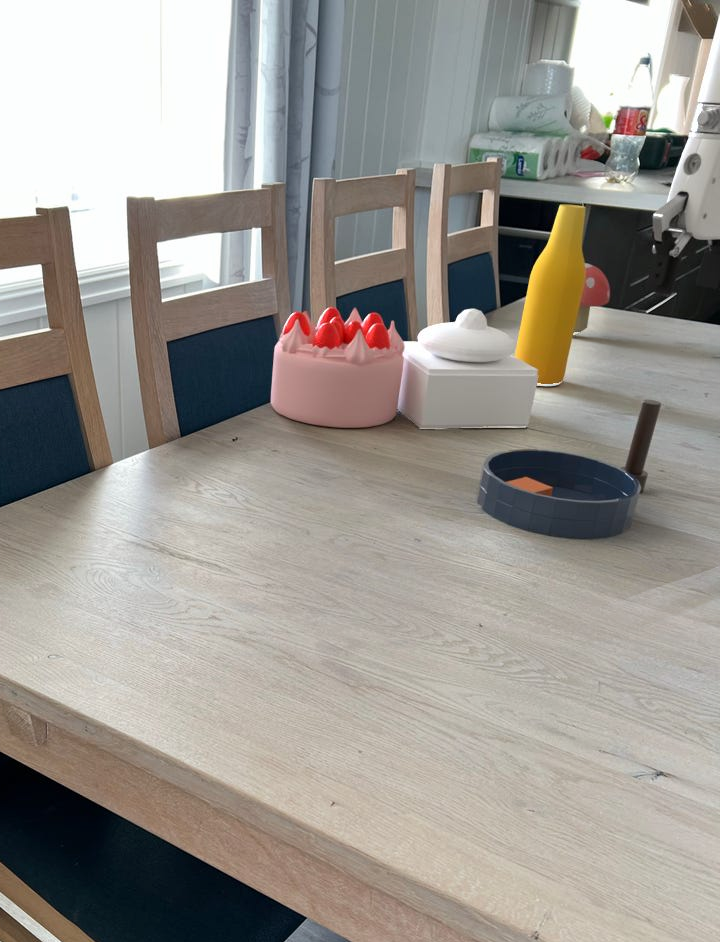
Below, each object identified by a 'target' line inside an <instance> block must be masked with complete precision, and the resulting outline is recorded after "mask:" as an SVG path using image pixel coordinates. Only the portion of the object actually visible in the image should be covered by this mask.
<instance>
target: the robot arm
mask: <svg viewBox="0 0 720 942" xmlns="http://www.w3.org/2000/svg"><path fill="white" fill-rule="evenodd" d="M687 137H688V139H687V142H686V143H685V146H684V149H683V151H682V153H681V157H680V158H679V161H678V165H677V167H676V171H675V173H674V176H673V180H672V182H671V186H670V189H669V193H668V197H667V200H666V203H665V204H664V205H663V206H661V207H660V208H658V209H657V210H655V212H654V213H653V215H652V233H651V241H652V243H653V245H652V248H651V253H652V254H653V257H652V261H651V265H650V269H649V272H648V277H647V279H646V280H647V282H646V285H645V289H646V291H649V292H653V293H658V294H661V295H671V294H673V292H674V289H675V285H676V282H677V277H678V274H679V270H680V267H681V262H682V259H683V257H681V256H679V255H680V253H681V252H682V250H683V249H684V248H685V246H686V245H687V243H688V242H689V241H690V240H691V238H692V237H693V238H694V239H696V240H701V241H705V240H706V241H707V245H708V250H704V251H703V255H702V259H701V262H700V266H699V270H698V272H697V277H696V280H695V286H696V287H699V288H703V289H708V290H714V291H720V14H718V18H717V23H716V27H715V30H714V34H713V39H712V43H711V46H710V50H709V54H708V58H707V62H706V66H705V69H704V74H703V78H702V82H701V85H700V89H699V93H698V97H697V101H696V105H695V108H694V113H693V116H692V121H691V125H690V128H689V132H688V136H687ZM674 238H676V240H675V239H674Z"/></svg>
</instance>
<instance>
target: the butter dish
mask: <svg viewBox="0 0 720 942" xmlns="http://www.w3.org/2000/svg"><path fill="white" fill-rule="evenodd" d="M456 316H457V317H456V318H455V321H453V322H452V321H451V322H450V321H449V322H442V323H436V324H433V325H429V326H427V327H425V328H423V329H422V330H421V331H420V332H419V333H418V335H417V340H416V341H415V340H414V341H409V340H407V341H405V340H403V343H404V346H405V349H404V352H403V356H404V364H403V371H402V378H401V386H400V393H399V400H398V407H397V409H398V410H399V411H400V412H401V413H403V414H404V415H405V416H406V417H407V418H409V419H410V420H411V421H412V422H413V423H415V424H416V425H417V426H418V427H419V428H461V427H483V426H487V427H488V426H527V427H528V425H530V419H531V415H532V410H533V404H534V400H535V395H536V391H537V387H536V386H537V381H538V377H539V376H538V375H537V373H538V369H536V368H534V367H532V366H530V365H529V364H527V363H525V362H523V361H521V360H520V359H518V358H516V357H514V356H515V355H513V353H515V351H516V346H517V342H515V340H514V339H513V338H512V337H511V336H510V335H509V334H508V333H506V332H504V331H502V330H500V329H498V328H495V327H491V326H488V321H487V318H486V316H485V315H484V313H483V311H482V310H479V309H477V308H467V309H464V310H462V311H461V312H460V313H459V314H458V315H456ZM398 410H397V411H398ZM399 411H398V412H399ZM400 412H399V413H400ZM401 413H400V414H401ZM403 414H402V415H403ZM404 415H403V416H404ZM405 416H404V417H405ZM406 417H405V418H406ZM407 418H406V419H407ZM410 420H409V421H410ZM411 421H410V422H411ZM412 422H411V423H412ZM413 423H412V424H413ZM418 427H417V428H418ZM419 428H418V429H419Z"/></svg>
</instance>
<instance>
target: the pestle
mask: <svg viewBox="0 0 720 942" xmlns="http://www.w3.org/2000/svg"><path fill="white" fill-rule="evenodd" d="M661 407H662V402H660V401H659V400H654V399H643V400H642V402H641V406H640V409H639V414H638V417H637V421H636V425H635V429H634V432H633V435H632V439H631V442H630V443H631V444H630V447H629V451H628V455H627V457H626V458H627V459H626V462H625V466H621V467H620V468H621V469H623V470H625V471H627V472H628V473H630V474H631V475H632V476H634V477H635V478H636V479H637V480H638V481H639V483H640V485H641V490H640V494H639V495H641V494H643V493H644V490H645V486H646V482H647V480H648V476H649V473H648V471H646V470H644V468H645V465H646V461H647V458H648V454H649V450H650V446H651V442H652V439H653V436H654V432H655V428H656V425H657V421H658V417H659V414H660V410H661Z"/></svg>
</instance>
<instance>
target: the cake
mask: <svg viewBox="0 0 720 942" xmlns="http://www.w3.org/2000/svg"><path fill="white" fill-rule="evenodd" d="M403 341H404V340H403V339H402V337H401V336H400V334H399V333H398V331H397V329H396V326H395V321H394V320H391V321H390V326H389V328H388V329H387V327H386V326H385V324H384V321H383V318H382V316H381V314H379V313H378V312H370V313H369V314H368V315H367V316H366V317H365V318H364V320H362V318H361V316H360V314H359V311H358V309H357V308H356V307H353V309H352V311H351V313H350V314H349V317H348V318H347V320H346V321H344V320H343V319H342V315H341V313H340V311H339V310H338V309H337V308H336V307H334V306H330V307H328V308H327V307H326V309H325V310H324V311H323V313H322V314H321V315H320V317H319V319H318V321H317V325H316V326H314V324H313V323H312V321H311V319H310V316H309V313H308V311H307V310H305V311H303V312H302V311H295V312H293V313H292V314H290V315H289V317H288V319H287V321H286V322H285V324H284V326H283V329H282V332H281V333H280V335H279V338H278V341H277V342H276V344H275V346H274V352H273V364H272V376H271V389H270V404H271V407H272V408H273V409H274V411H275V412H276V413H278V414H279V415H282V416H283V417H286V418H288V419H291V420H294V421H296V422H301V423H305V424H309V425H314V426H319V427H320V426H321V427H331V428H340V429H341V428H345V429H347V428H349V429H351V428H352V429H355V428H357V429H358V428H369V427H375V426H381V425H384V424H387V423H389V422H391V421H392V420H393V419H394V418H395V417H396V415H397V411H398V410H397V407H398V400H399V393H400V386H401V378H402V371H403V364H404V356H403V352H404V349H405V346H404V343H403Z"/></svg>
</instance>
